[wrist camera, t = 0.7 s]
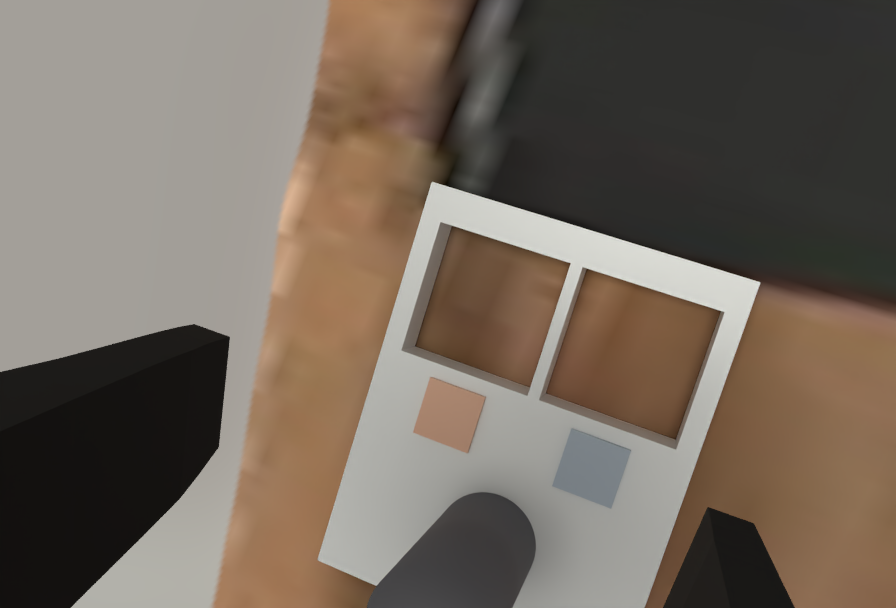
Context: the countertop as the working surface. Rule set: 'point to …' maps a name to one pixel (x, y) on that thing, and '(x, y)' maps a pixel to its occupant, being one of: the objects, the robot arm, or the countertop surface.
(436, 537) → the plug
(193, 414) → the robot arm
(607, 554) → the socket board
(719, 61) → the countertop surface
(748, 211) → the countertop surface
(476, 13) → the countertop surface
